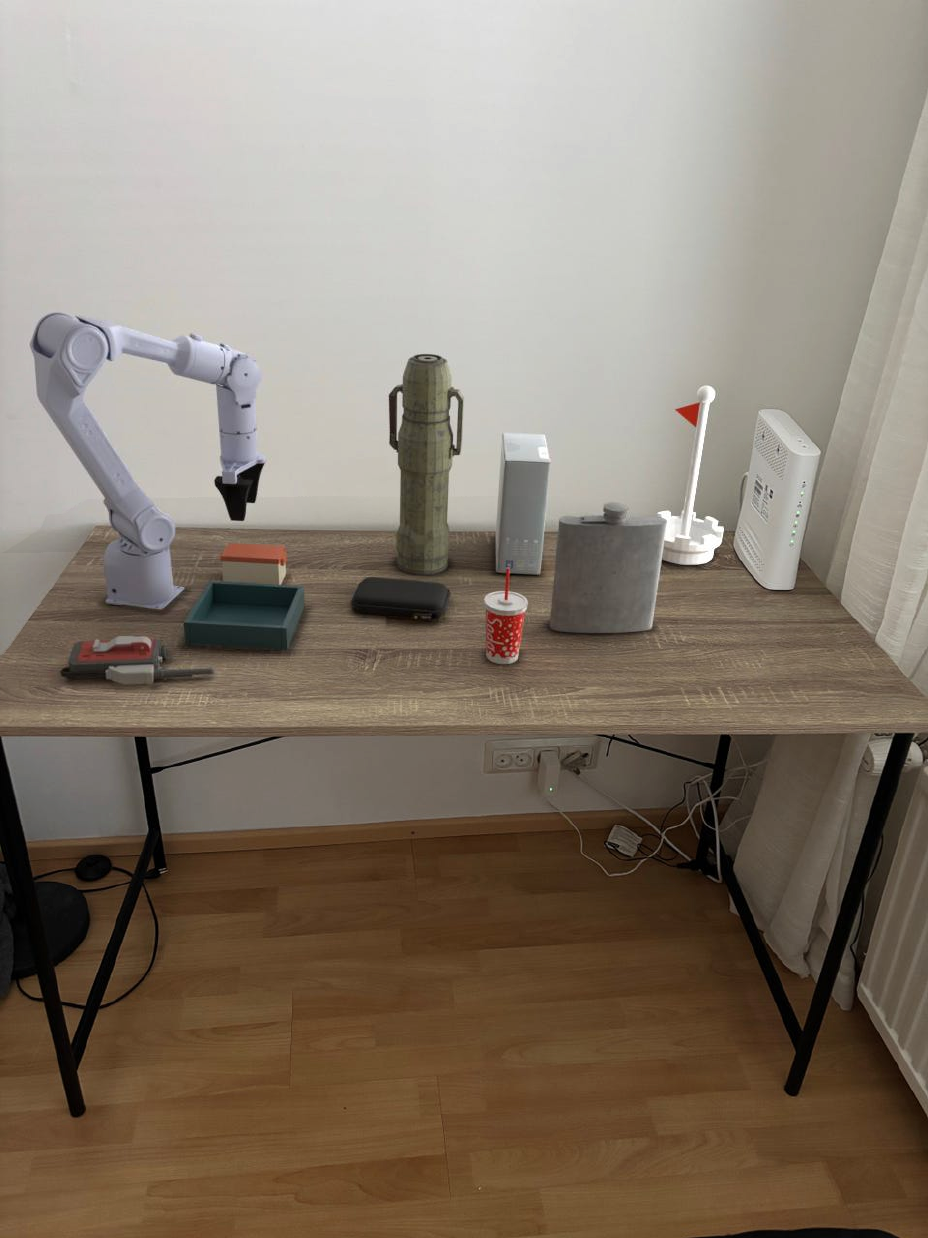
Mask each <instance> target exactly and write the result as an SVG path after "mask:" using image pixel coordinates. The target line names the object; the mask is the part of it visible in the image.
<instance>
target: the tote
mask: <svg viewBox="0 0 928 1238" xmlns="http://www.w3.org/2000/svg"><path fill="white" fill-rule="evenodd" d="M305 605H306V603H305V586H304V585H290V584H281V585H275V584H257V583H240V582H223V580H222V581H219V580H208V582H207V583H206V585H205V587H204V588H203V590H202V591H201V593H200V595H199V596H198V597H197V599H196V601H195V603H194V604H193V606H192V608H191V610H190V611H189V613H188V614H187V616H186V618H185V619H184V620H183V630H184V632H183V633H184V639H185V645H199V646H200V645H202V646H219V647H220V646H221V647H236V648H252V649H253V648H254V649H269V650H271V649H272V650H286V651H287V650H288V649H289V647H290V645H291V644H290V643H291V642H292V639H293V637H294V634H295V632H296V630H297V627H298V624H299V621H300V619H301V617H302V614H303V612H304V609H305V607H306V606H305Z"/></svg>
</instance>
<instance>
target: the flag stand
mask: <svg viewBox="0 0 928 1238" xmlns="http://www.w3.org/2000/svg"><path fill="white" fill-rule="evenodd" d="M715 397H716V391H715V389H714V388H713V387H712V386H710V385H703V386H701V387H700V388H698V390H697V393H696V398H697V400H698V401H699V402H696V403H693V404H688V405H685V406H682V407H679V408H675V409H674V411H676V412H677V413H678V414H679V415H680V416H681V417H683V418H684V419H685V420H686V421H687V422H689V424H691V425H692V426H693V427H694V428H695V434H694V439H693V440H694V441H693V447H692V453H691V459H690V465H689V472H688V478H687V484H686V491H685V498H684V504H683V510H681V513H680V515H672V512H671V511H670V510H664V511H663V510H662V511H659V512H657V513H656V516H658V517H662V518H665V519H666V520H667V526H666V533H665V540H664V547H663V554H662V561H665V562H669V563H673V564H678V565H685V566H696V565H702V564H706V563H708V562H709V561H711V560H712V559H713V557H714V552H715V549H716V548H718V547H720V545H721V544H722V541H723V535H724V526H719V520H717V519H715V518H714V517H712V516H705V517H704V520H703V519H700V518H696V514H697V513H696V512H695V511H694V503H695V497H696V491H697V490H696V489H697V484H698V477H699V472H700V471H699V470H700V466H701V459H702V453H703V445H704V440H705V434H706V427H707V420H708V413H709V408H710V403H712V402H713V401H714V399H715Z"/></svg>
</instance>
